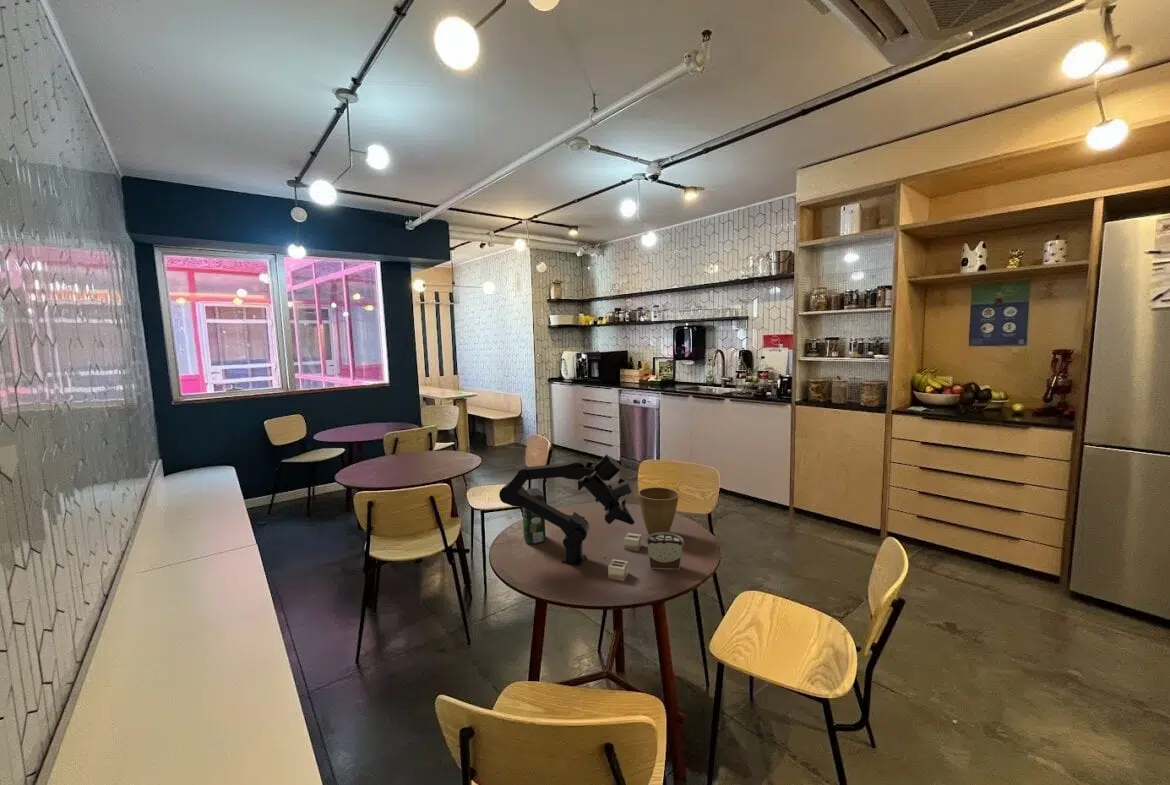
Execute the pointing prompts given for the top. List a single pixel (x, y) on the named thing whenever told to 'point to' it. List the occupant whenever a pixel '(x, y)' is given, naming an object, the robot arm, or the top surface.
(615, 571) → the numbered tile two
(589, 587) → the top surface
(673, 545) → the food container
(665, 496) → the plant pot
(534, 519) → the coffee jar
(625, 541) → the numbered tile one
